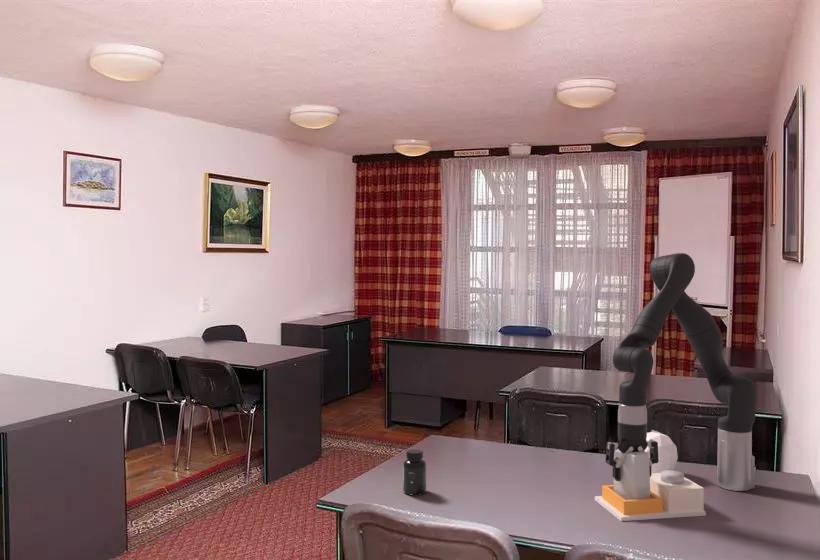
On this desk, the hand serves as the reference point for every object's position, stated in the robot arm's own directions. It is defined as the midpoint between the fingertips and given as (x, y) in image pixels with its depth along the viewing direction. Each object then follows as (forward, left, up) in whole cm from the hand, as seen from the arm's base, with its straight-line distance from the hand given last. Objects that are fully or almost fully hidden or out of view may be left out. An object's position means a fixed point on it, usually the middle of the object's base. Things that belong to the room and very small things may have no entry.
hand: (631, 479), depth 188 cm
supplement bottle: (+56, -23, -8) cm, 61 cm away
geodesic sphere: (-21, -26, -8) cm, 34 cm away
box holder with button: (-5, 0, -8) cm, 9 cm away
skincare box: (0, 0, -7) cm, 7 cm away
